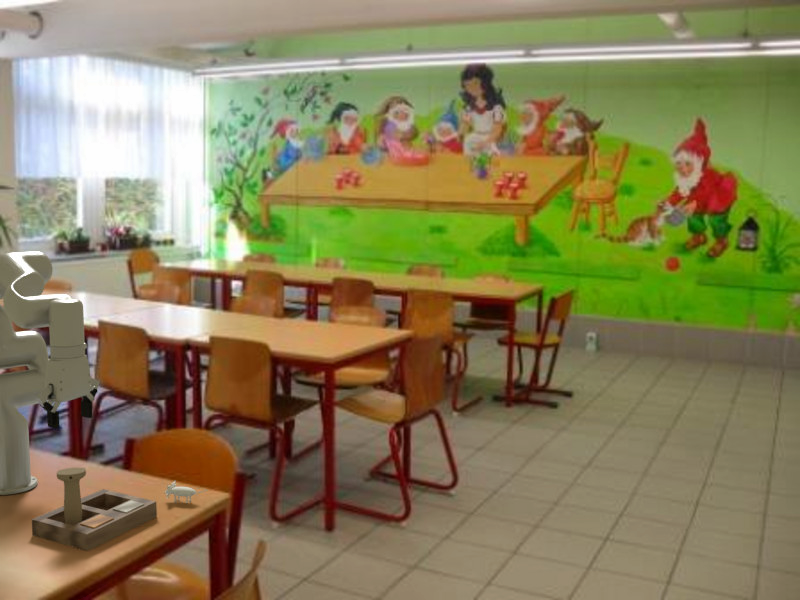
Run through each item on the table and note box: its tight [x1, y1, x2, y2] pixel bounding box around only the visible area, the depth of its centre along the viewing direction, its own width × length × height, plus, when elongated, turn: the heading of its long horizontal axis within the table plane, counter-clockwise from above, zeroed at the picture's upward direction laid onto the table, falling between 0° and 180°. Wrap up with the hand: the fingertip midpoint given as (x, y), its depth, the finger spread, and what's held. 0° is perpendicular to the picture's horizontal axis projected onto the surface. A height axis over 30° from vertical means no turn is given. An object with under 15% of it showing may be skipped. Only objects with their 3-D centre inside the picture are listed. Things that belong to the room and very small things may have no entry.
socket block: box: [31, 488, 158, 552], centre depth 199 cm, size 18×22×4 cm
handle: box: [56, 467, 87, 526], centre depth 195 cm, size 5×6×15 cm
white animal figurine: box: [164, 480, 208, 504], centre depth 214 cm, size 12×5×5 cm, turn 77°
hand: (70, 422), depth 194 cm, fingers open, 9 cm apart
